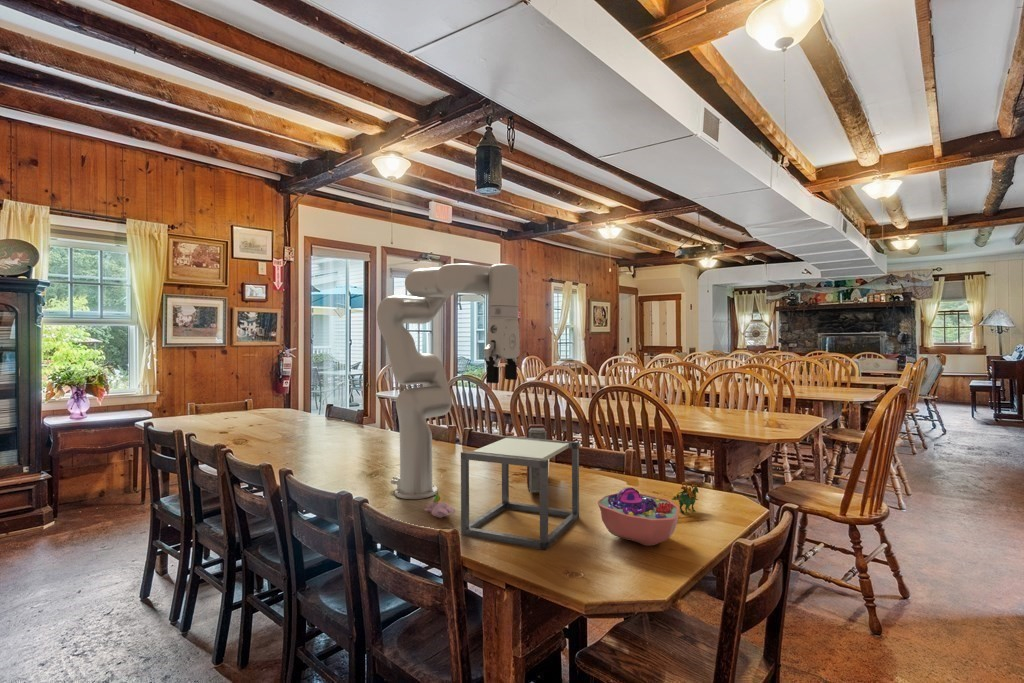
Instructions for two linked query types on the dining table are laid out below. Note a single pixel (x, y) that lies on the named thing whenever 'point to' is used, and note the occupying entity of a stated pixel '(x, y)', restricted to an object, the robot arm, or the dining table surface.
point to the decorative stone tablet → (534, 472)
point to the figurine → (687, 497)
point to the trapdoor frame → (543, 509)
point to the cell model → (639, 516)
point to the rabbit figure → (439, 508)
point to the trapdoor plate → (524, 448)
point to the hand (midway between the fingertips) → (501, 381)
